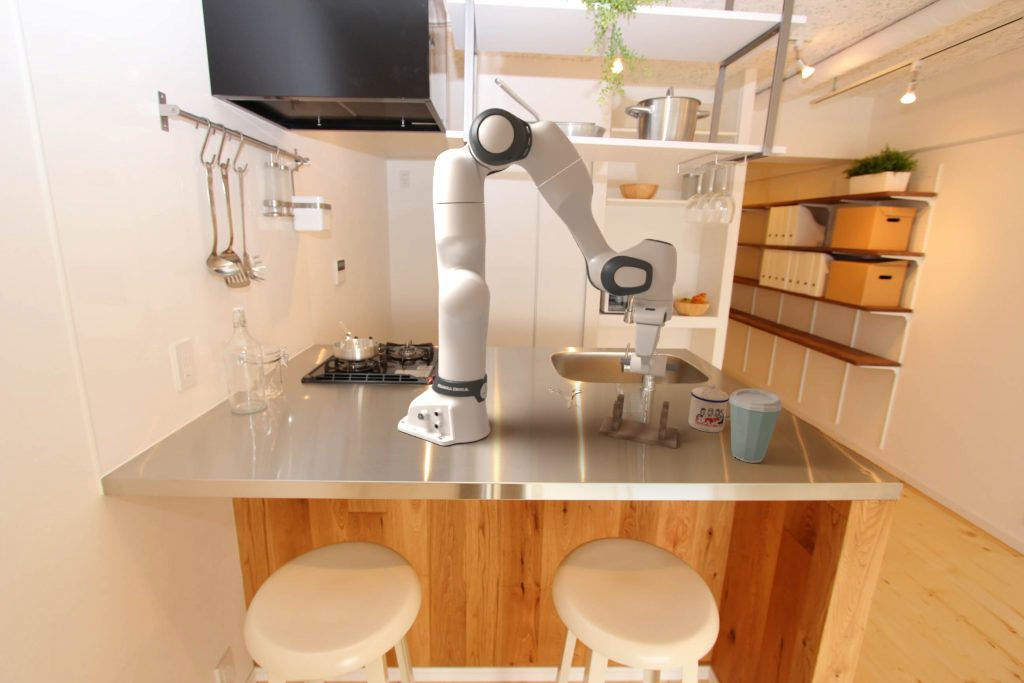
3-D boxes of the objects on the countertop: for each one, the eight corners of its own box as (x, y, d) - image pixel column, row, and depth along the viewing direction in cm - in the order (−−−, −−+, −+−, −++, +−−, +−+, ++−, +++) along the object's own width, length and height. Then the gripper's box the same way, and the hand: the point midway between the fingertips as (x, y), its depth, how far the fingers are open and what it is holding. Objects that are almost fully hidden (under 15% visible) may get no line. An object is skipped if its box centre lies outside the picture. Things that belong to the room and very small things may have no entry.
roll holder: (598, 434, 117) (601, 403, 115) (606, 419, 126) (608, 390, 124) (675, 448, 111) (679, 416, 109) (677, 432, 120) (681, 402, 118)
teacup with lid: (691, 431, 121) (697, 388, 118) (683, 418, 129) (688, 377, 127) (741, 435, 119) (748, 391, 117) (729, 421, 128) (735, 380, 125)
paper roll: (619, 374, 117) (618, 366, 113) (623, 356, 119) (622, 347, 115) (675, 382, 113) (676, 373, 109) (677, 363, 115) (678, 354, 111)
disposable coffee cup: (747, 471, 101) (759, 404, 98) (709, 449, 111) (718, 388, 108) (783, 463, 105) (795, 399, 102) (743, 443, 115) (753, 384, 112)
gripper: (643, 303, 122) (637, 355, 125) (632, 315, 103) (626, 377, 106) (669, 305, 119) (662, 358, 123) (663, 318, 101) (656, 381, 104)
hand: (646, 367), depth 114 cm, fingers closed on paper roll, 5 cm apart
